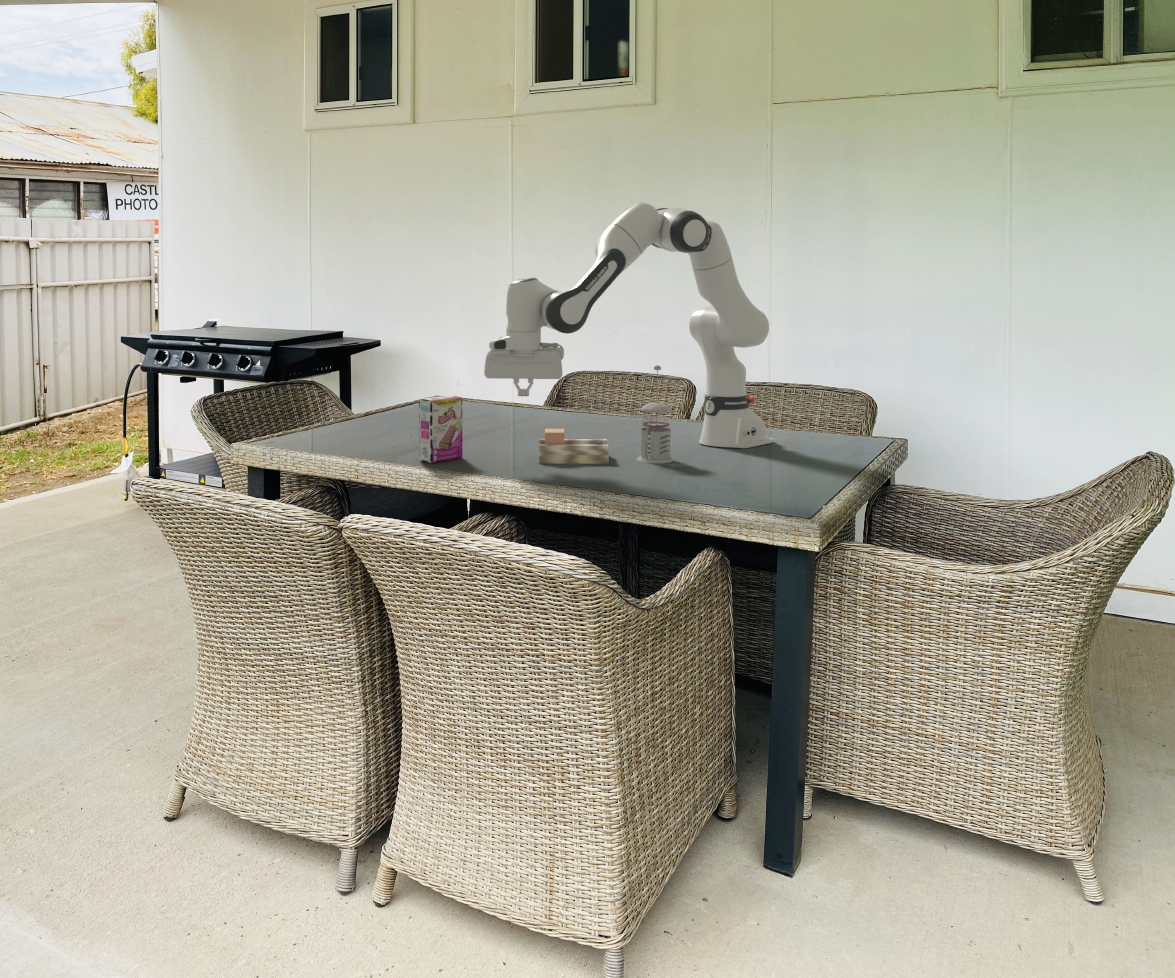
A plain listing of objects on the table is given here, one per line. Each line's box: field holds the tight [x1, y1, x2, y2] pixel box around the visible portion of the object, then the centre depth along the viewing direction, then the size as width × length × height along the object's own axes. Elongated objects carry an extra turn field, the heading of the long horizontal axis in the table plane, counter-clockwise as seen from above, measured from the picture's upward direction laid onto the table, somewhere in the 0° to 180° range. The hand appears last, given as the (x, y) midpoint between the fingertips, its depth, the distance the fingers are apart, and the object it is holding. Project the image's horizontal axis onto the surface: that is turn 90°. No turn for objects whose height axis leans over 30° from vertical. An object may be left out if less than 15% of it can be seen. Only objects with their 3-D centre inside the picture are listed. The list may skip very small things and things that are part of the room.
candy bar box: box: [418, 395, 463, 464], centre depth 253 cm, size 11×5×16 cm, turn 141°
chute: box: [538, 438, 610, 465], centre depth 257 cm, size 18×12×4 cm, turn 92°
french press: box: [636, 364, 674, 464], centre depth 254 cm, size 10×12×25 cm
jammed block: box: [544, 428, 565, 445], centre depth 256 cm, size 5×6×6 cm
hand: (523, 396), depth 253 cm, fingers closed
